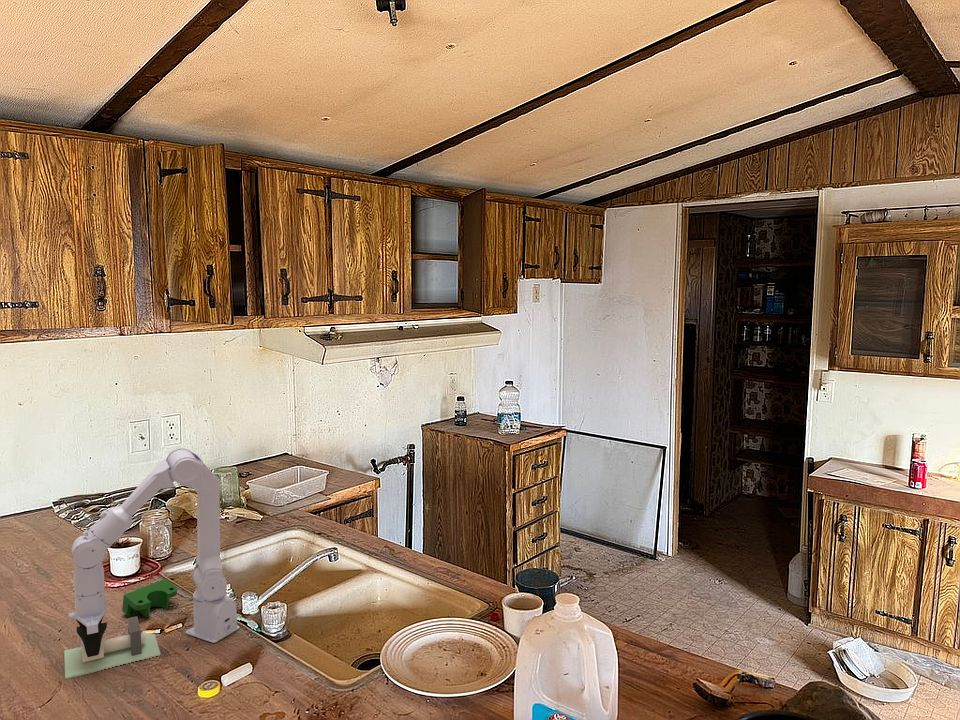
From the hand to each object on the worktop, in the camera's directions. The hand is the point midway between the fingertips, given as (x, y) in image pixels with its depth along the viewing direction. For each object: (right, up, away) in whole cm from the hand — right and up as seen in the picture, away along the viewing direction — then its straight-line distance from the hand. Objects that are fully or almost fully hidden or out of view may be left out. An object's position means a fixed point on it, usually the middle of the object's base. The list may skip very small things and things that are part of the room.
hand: (92, 650), depth 149 cm
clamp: (+2, 0, +22) cm, 22 cm away
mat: (+3, -2, +2) cm, 4 cm away
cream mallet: (+4, -1, +2) cm, 4 cm away
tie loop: (+7, -1, +5) cm, 8 cm away
